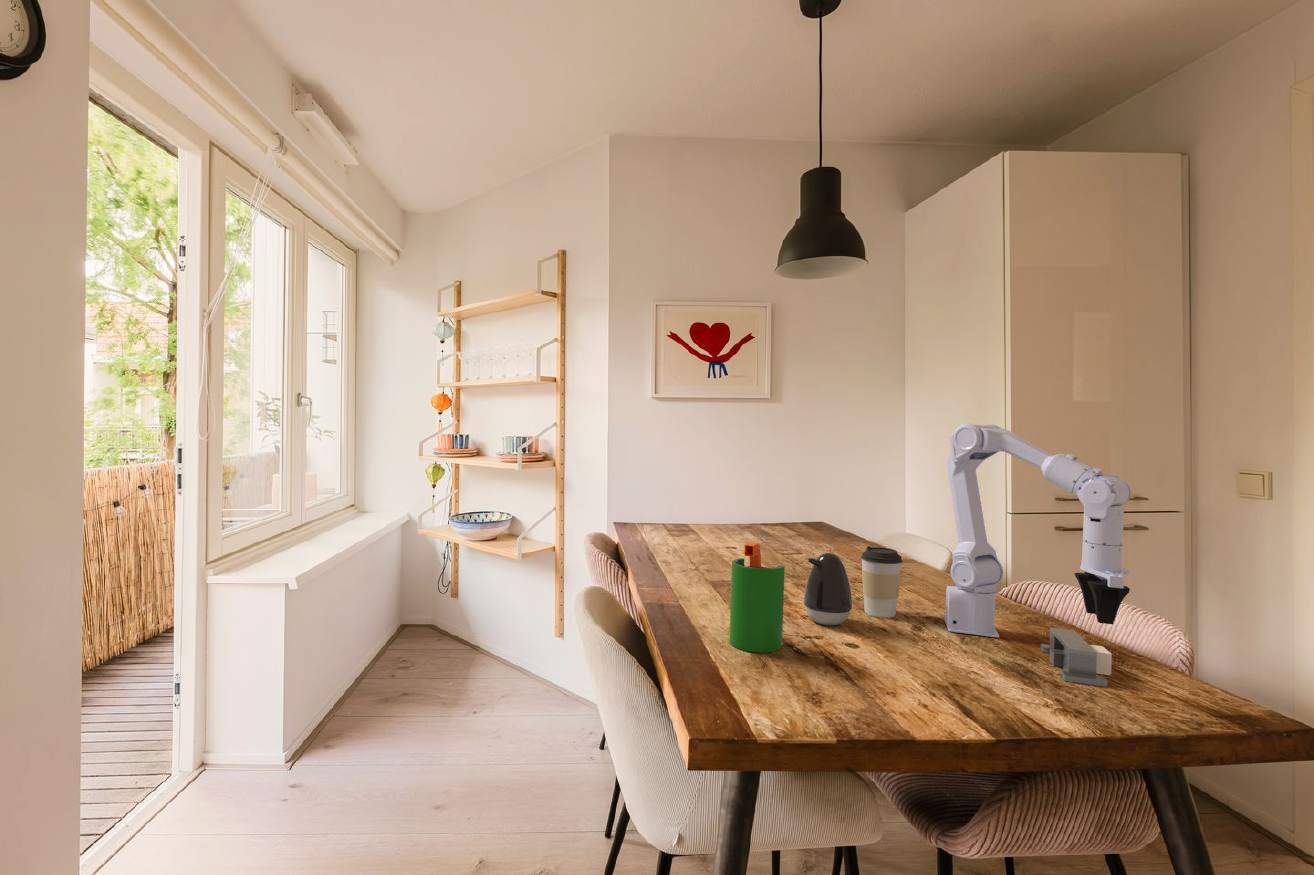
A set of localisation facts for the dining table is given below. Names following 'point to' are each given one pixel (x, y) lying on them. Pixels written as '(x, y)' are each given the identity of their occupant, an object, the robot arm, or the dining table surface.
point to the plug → (1102, 659)
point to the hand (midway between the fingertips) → (1099, 618)
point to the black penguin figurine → (828, 591)
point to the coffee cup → (881, 581)
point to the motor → (756, 604)
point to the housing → (1075, 657)
